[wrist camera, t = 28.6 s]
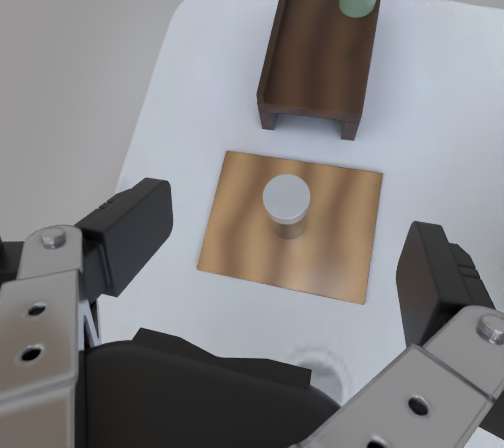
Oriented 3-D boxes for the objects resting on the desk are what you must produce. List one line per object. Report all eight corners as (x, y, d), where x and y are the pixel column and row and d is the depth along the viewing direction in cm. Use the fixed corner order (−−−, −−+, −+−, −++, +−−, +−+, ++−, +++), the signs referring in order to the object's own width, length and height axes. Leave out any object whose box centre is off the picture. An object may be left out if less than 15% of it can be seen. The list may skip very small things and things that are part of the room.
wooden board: (382, 174, 43) (382, 173, 43) (363, 304, 40) (364, 304, 39) (226, 151, 47) (226, 150, 46) (197, 269, 43) (196, 269, 43)
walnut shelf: (375, 11, 49) (388, -42, 42) (353, 140, 45) (364, 107, 37) (290, 5, 51) (288, -46, 44) (262, 128, 47) (255, 94, 39)
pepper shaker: (310, 207, 43) (314, 177, 33) (304, 243, 42) (305, 222, 32) (274, 201, 44) (267, 170, 34) (267, 236, 43) (258, 214, 33)
